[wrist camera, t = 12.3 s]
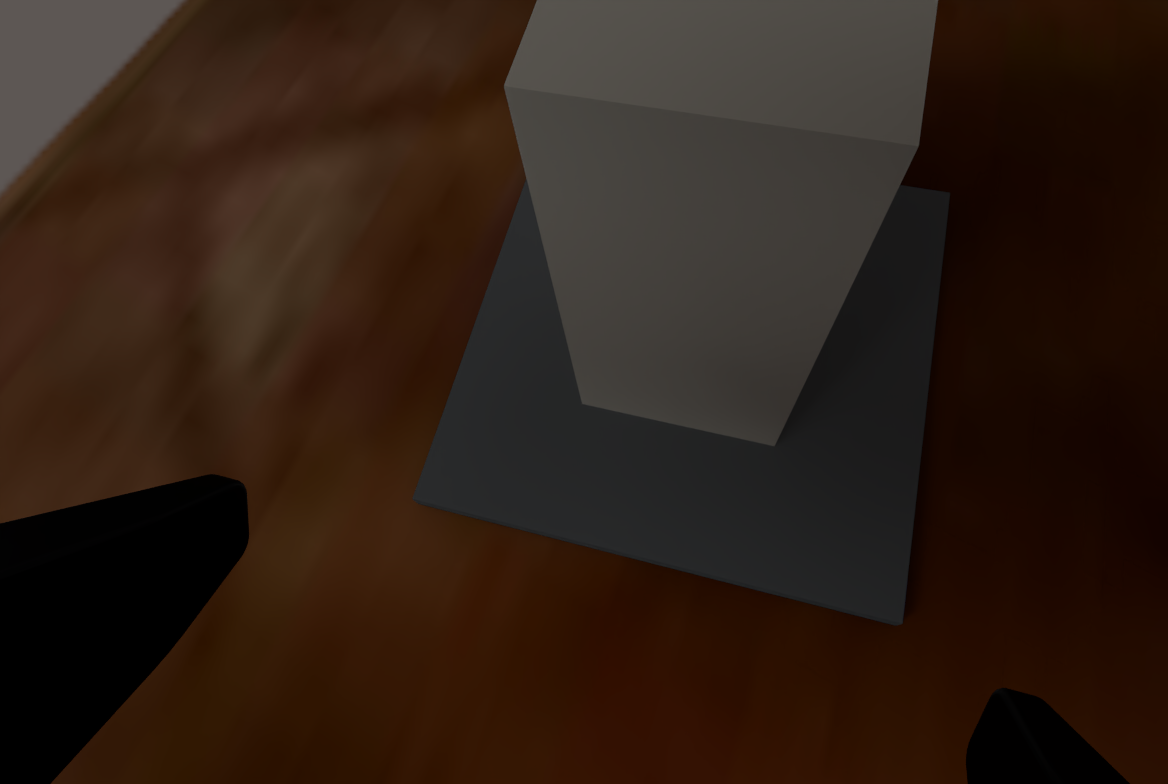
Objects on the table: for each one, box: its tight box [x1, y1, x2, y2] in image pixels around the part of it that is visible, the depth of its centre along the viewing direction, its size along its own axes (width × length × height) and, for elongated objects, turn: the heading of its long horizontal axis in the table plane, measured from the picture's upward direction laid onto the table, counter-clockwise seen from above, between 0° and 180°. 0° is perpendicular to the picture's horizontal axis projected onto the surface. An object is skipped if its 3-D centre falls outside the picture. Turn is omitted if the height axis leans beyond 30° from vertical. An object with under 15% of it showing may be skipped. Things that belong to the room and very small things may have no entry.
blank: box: [504, 0, 938, 446], centre depth 15 cm, size 5×5×11 cm
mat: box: [413, 179, 950, 626], centre depth 20 cm, size 12×12×1 cm
